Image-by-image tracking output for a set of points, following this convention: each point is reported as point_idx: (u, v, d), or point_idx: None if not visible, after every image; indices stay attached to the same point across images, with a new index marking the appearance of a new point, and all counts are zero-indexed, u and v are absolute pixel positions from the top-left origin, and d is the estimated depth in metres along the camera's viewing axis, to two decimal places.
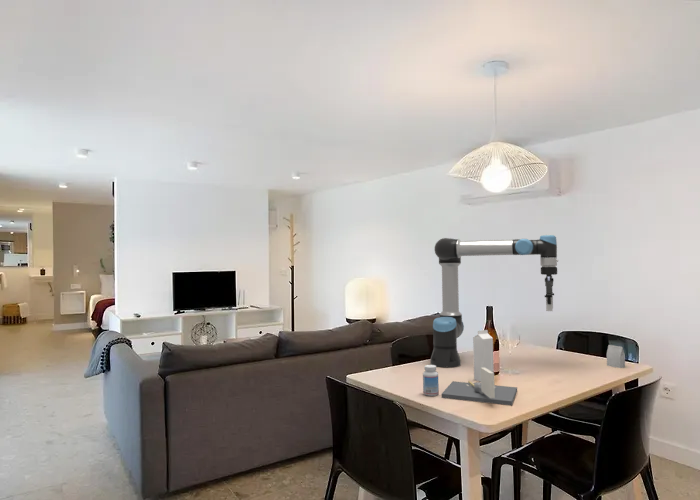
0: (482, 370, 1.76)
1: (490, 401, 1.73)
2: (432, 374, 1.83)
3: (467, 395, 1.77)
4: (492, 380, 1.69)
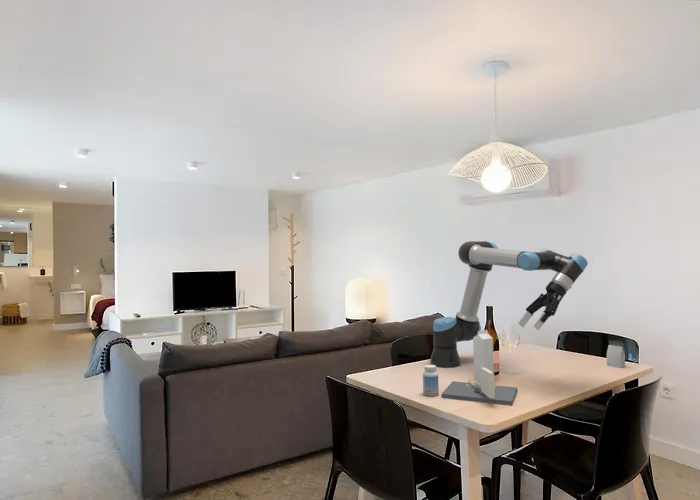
0: (482, 370, 1.76)
1: (490, 401, 1.73)
2: (432, 374, 1.83)
3: (467, 395, 1.77)
4: (492, 380, 1.69)
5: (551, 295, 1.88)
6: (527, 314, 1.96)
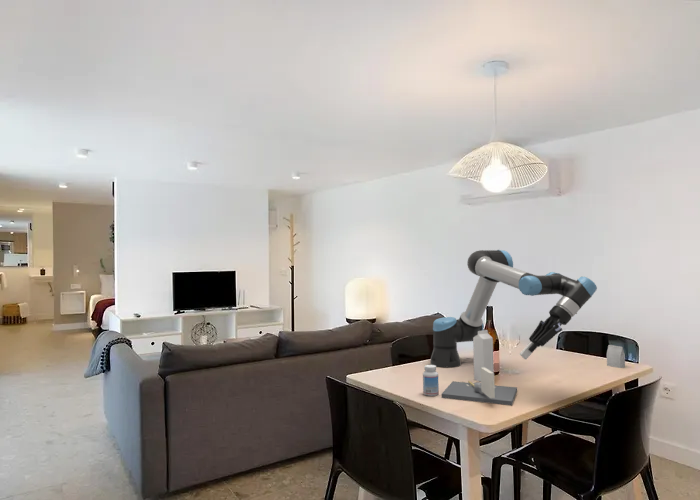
0: (482, 370, 1.76)
1: (490, 401, 1.73)
2: (432, 374, 1.83)
3: (467, 395, 1.77)
4: (492, 380, 1.69)
5: (556, 320, 1.74)
6: None
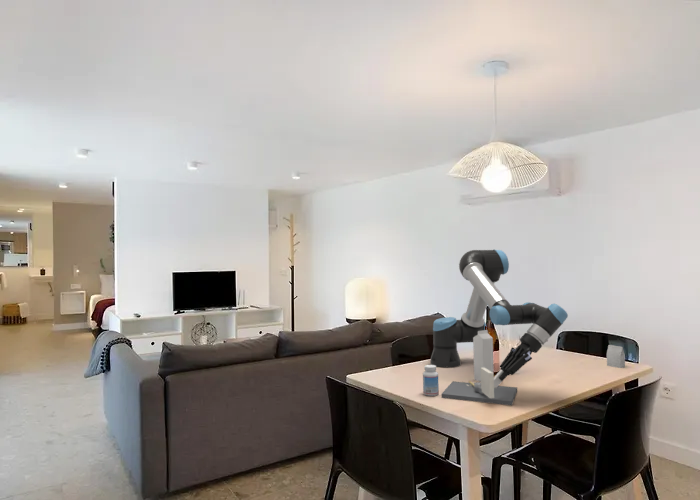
0: (482, 370, 1.76)
1: (490, 401, 1.73)
2: (432, 374, 1.83)
3: (467, 395, 1.77)
4: (491, 380, 1.69)
5: (526, 348, 1.72)
6: None
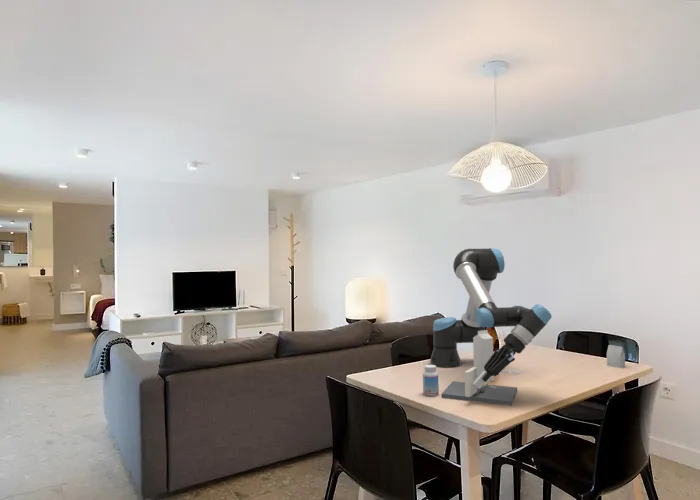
0: None
1: (490, 401, 1.73)
2: (432, 374, 1.83)
3: None
4: (467, 379, 1.71)
5: (509, 349, 1.72)
6: None
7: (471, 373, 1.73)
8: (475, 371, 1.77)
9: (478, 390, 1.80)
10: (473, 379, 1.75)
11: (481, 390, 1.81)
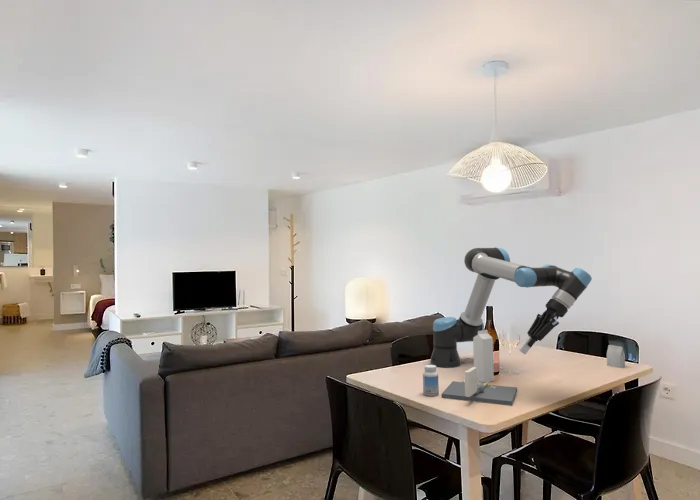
0: None
1: (490, 401, 1.73)
2: (432, 374, 1.83)
3: None
4: (467, 379, 1.71)
5: (552, 313, 1.75)
6: None
7: (471, 373, 1.73)
8: (475, 371, 1.77)
9: (478, 390, 1.80)
10: (473, 379, 1.75)
11: (481, 390, 1.81)
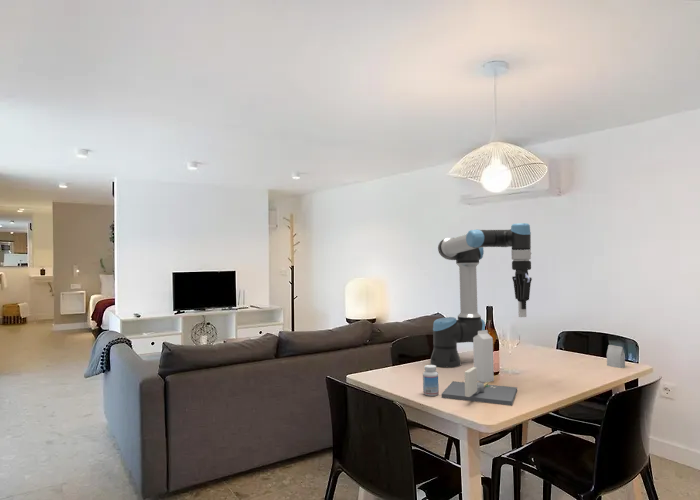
0: None
1: (490, 401, 1.73)
2: (432, 374, 1.83)
3: None
4: (467, 379, 1.71)
5: (521, 273, 1.92)
6: None
7: (471, 373, 1.73)
8: (475, 371, 1.77)
9: (478, 390, 1.80)
10: (473, 379, 1.75)
11: (481, 390, 1.81)
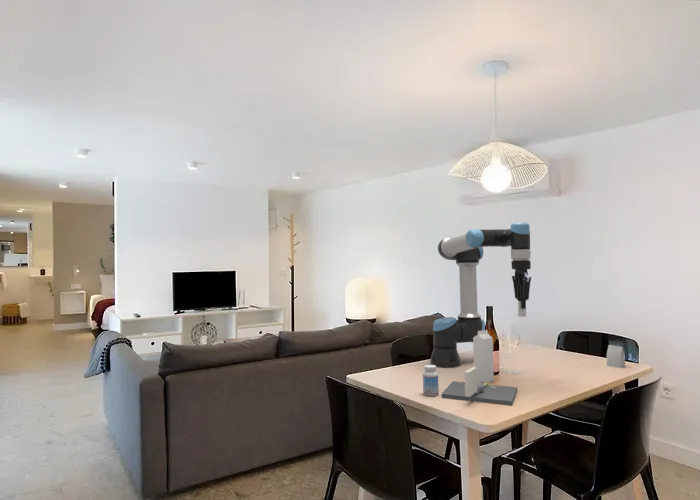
0: None
1: (490, 401, 1.73)
2: (432, 374, 1.83)
3: None
4: (467, 379, 1.71)
5: (521, 272, 1.92)
6: None
7: (471, 373, 1.73)
8: (475, 371, 1.77)
9: (478, 390, 1.80)
10: (473, 379, 1.75)
11: (481, 390, 1.81)
